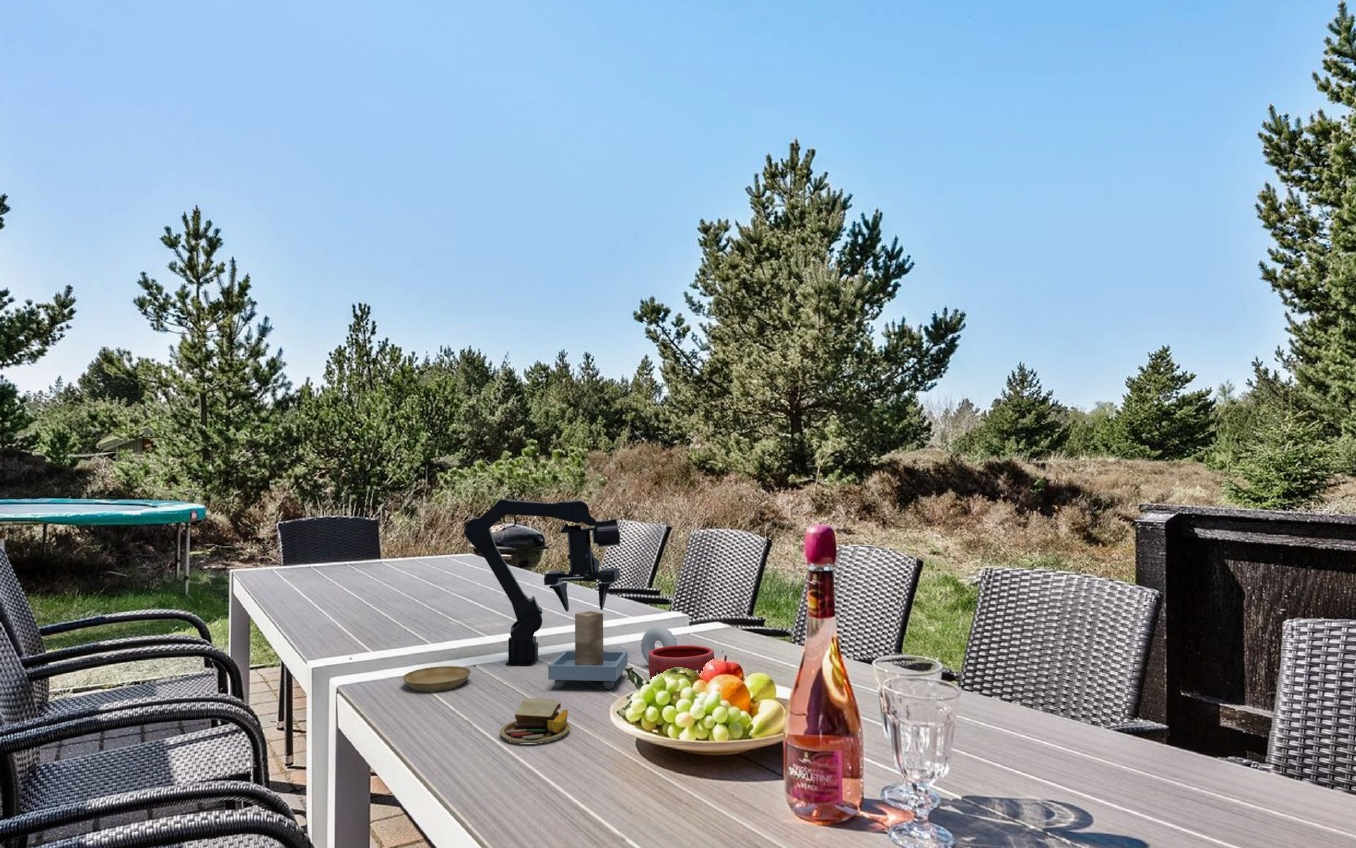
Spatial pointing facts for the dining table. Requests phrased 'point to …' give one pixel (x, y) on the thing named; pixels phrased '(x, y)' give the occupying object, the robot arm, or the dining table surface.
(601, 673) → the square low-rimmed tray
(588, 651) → the block
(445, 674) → the plant saucer
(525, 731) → the toy sandwich meal
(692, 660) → the plant pot
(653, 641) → the donut
